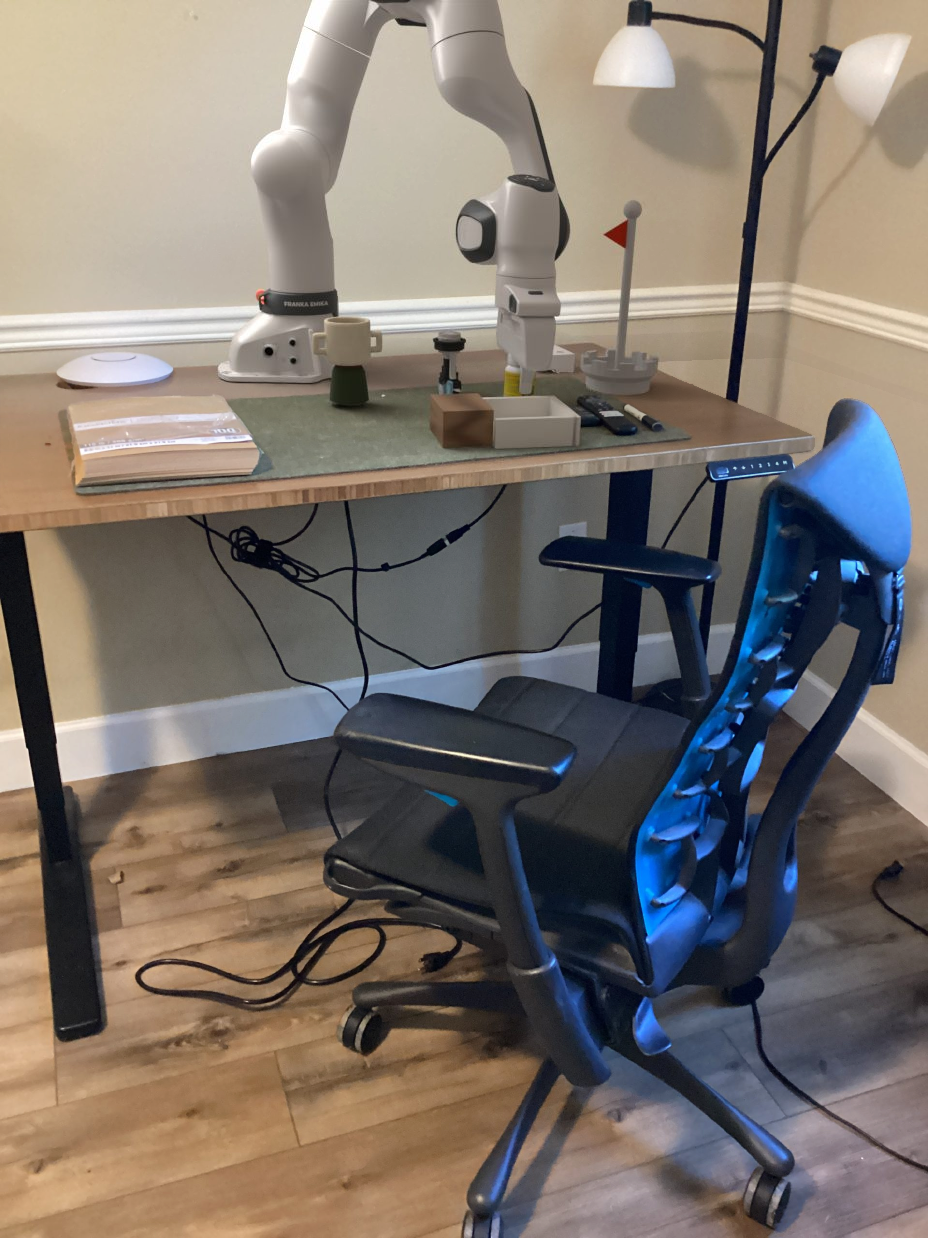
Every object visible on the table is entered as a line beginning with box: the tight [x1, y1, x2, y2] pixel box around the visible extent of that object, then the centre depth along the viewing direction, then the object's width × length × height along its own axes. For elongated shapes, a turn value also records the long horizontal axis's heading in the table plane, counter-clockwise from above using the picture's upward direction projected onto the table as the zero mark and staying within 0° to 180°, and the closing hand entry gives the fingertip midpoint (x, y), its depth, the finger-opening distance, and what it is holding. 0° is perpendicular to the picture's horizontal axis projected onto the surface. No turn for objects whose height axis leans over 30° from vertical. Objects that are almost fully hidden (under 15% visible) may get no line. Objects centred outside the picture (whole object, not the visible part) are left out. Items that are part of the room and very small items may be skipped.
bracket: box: [547, 344, 576, 373], centre depth 189 cm, size 13×7×8 cm, turn 18°
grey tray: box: [482, 395, 582, 450], centre depth 145 cm, size 12×13×4 cm
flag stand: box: [580, 199, 659, 396], centre depth 169 cm, size 13×13×30 cm
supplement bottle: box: [503, 354, 537, 397], centre depth 156 cm, size 5×5×8 cm
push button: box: [432, 330, 467, 394], centre depth 164 cm, size 7×5×10 cm
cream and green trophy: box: [312, 316, 383, 406], centre depth 157 cm, size 11×7×13 cm, turn 109°
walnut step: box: [429, 392, 494, 449], centre depth 143 cm, size 7×10×5 cm
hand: (519, 388), depth 156 cm, fingers closed on supplement bottle, 5 cm apart
